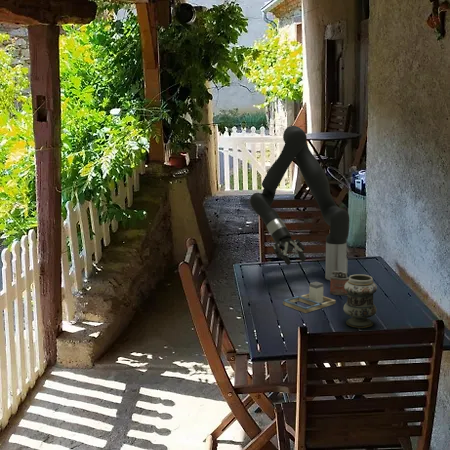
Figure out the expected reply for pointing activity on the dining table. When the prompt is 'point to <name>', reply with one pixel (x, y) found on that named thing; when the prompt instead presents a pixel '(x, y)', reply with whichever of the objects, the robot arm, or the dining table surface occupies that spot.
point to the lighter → (338, 283)
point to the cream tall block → (316, 292)
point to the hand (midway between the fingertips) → (297, 262)
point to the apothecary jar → (360, 300)
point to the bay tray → (304, 299)
